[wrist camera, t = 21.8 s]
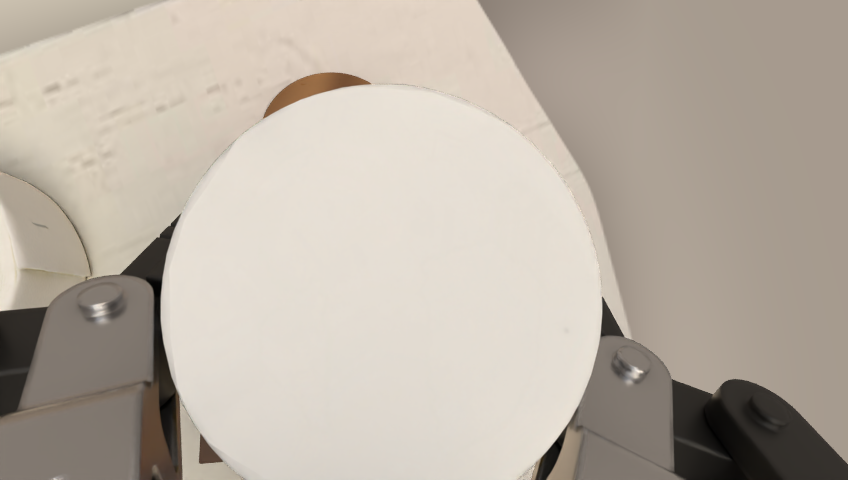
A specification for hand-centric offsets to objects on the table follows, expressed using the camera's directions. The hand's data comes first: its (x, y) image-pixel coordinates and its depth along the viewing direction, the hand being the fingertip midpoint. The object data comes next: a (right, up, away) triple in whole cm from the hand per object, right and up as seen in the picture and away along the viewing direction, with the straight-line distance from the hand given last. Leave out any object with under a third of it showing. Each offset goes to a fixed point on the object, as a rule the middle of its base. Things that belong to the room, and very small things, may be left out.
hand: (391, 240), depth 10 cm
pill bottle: (-1, -3, +5) cm, 6 cm away
